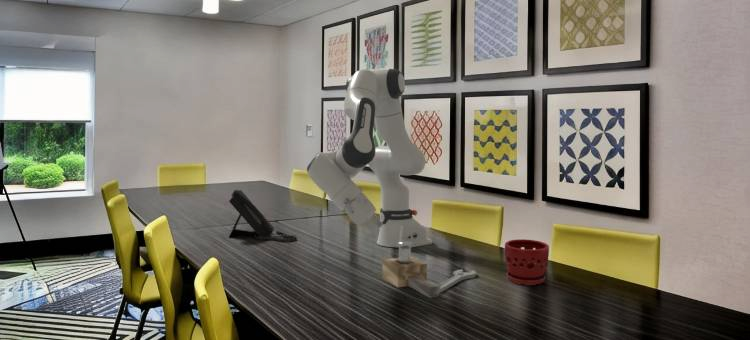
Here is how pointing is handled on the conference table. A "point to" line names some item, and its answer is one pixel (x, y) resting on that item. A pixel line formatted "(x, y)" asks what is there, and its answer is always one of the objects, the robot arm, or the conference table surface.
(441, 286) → the adjustable wrench
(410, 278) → the mortise block
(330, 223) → the conference table surface
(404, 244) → the clear glass bottle
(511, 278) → the plant pot
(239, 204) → the office phone
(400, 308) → the conference table surface
